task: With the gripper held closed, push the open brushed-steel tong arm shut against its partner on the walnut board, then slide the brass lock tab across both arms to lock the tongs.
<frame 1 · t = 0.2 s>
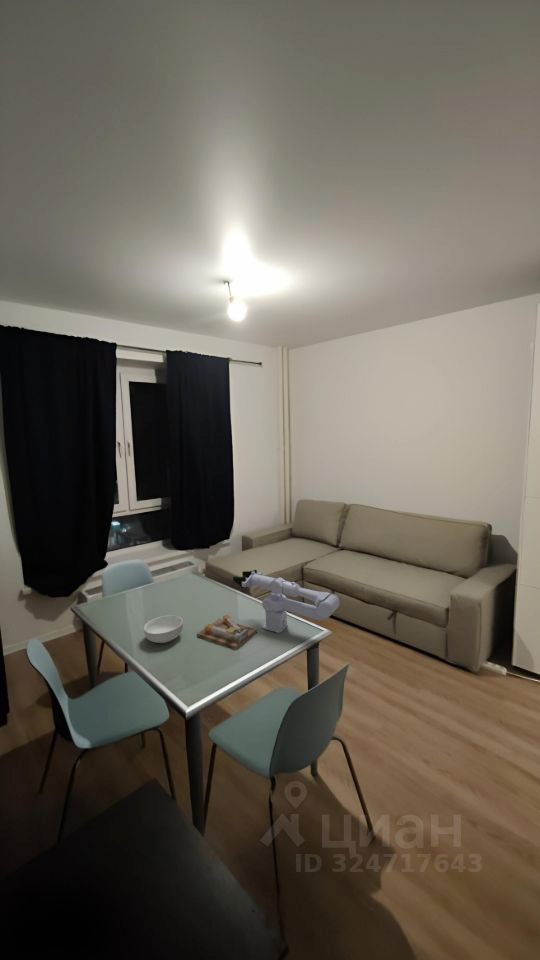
hand: (238, 576, 186), 21 cm above the table, tool horizontal, fingers open, 7 cm apart
cereal bowl: (164, 638, 172), on the table
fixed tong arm: (223, 639, 169), resting on board
lock tab: (231, 630, 166), point 5 cm above the table, slide at 0.0 cm
board: (227, 634, 173), on the table
tong arm: (232, 626, 175), point 3 cm above the table, hinge at 30.0°
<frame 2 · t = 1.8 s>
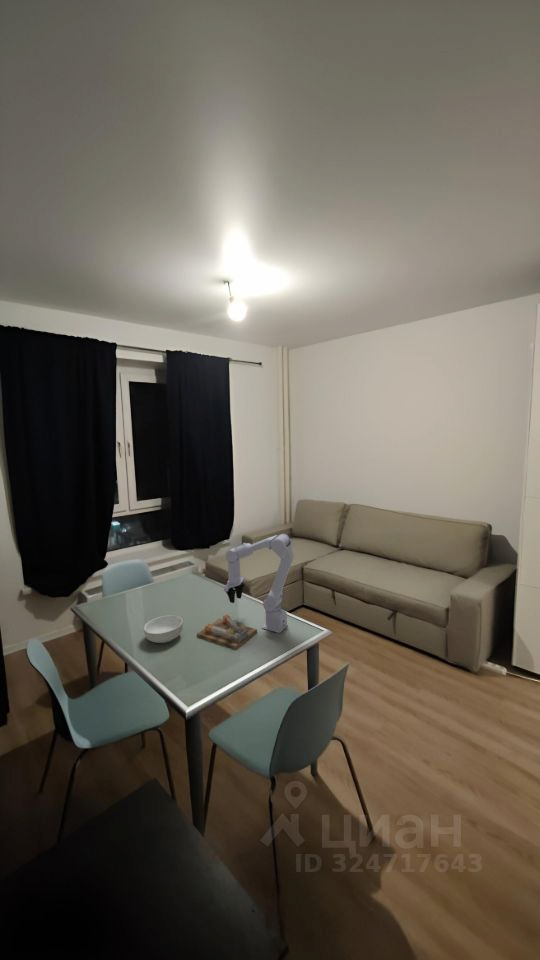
hand: (235, 600, 185), 10 cm above the table, tool pointing down, fingers open, 5 cm apart
nothing on the table moved.
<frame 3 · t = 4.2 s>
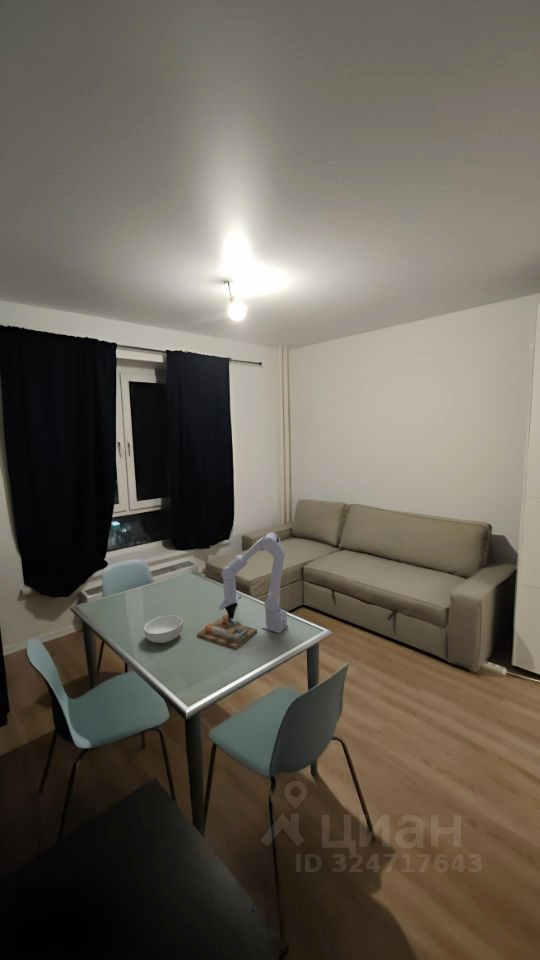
hand: (231, 618, 182), 3 cm above the table, tool pointing down, fingers closed
tong arm: (232, 626, 174), point 3 cm above the table, hinge at 28.4°, touching gripper
everything else where it was.
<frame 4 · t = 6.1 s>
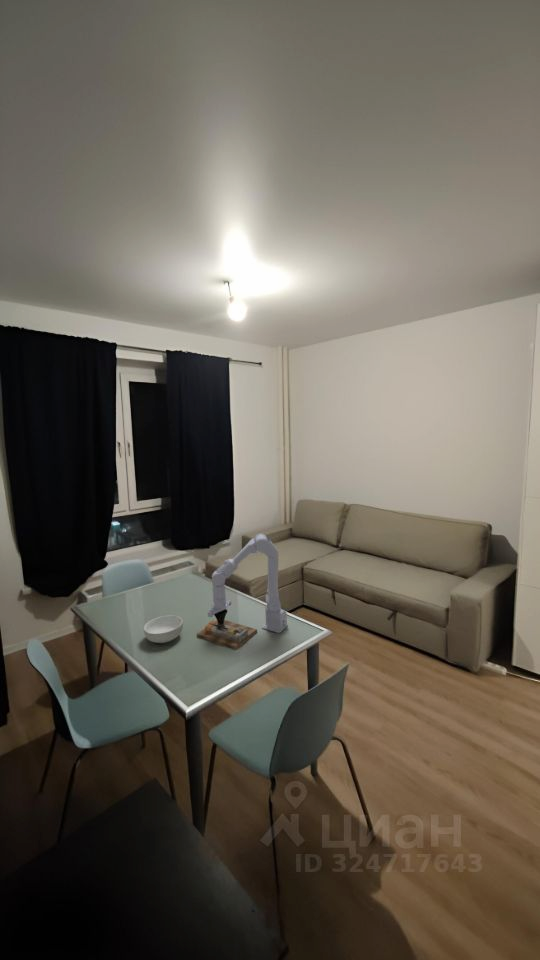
hand: (220, 625, 176), 3 cm above the table, tool pointing down, fingers closed
tong arm: (225, 629, 172), point 3 cm above the table, hinge at -0.2°, touching gripper
everything else where it was.
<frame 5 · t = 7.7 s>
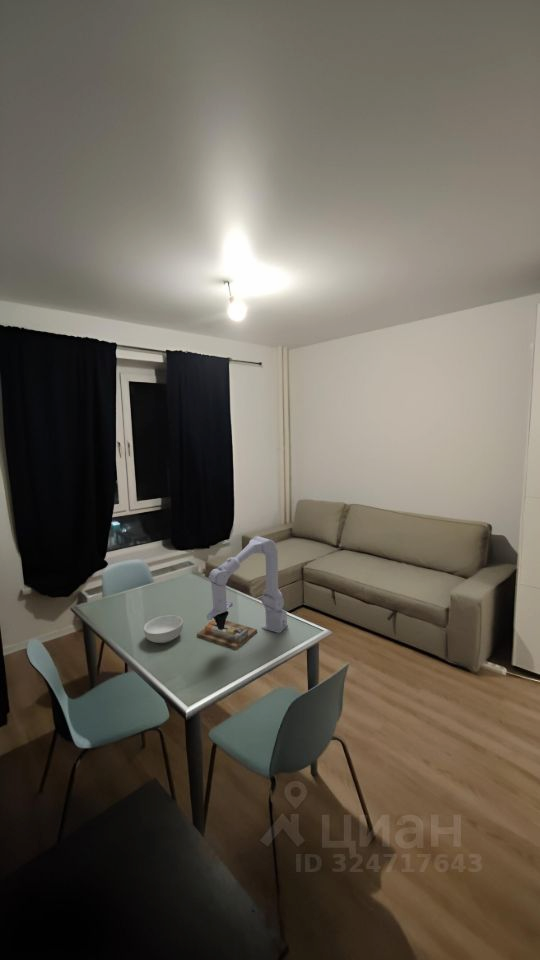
hand: (221, 629, 160), 9 cm above the table, tool pointing down, fingers closed
tong arm: (225, 629, 172), point 3 cm above the table, hinge at -0.2°
everything else where it was.
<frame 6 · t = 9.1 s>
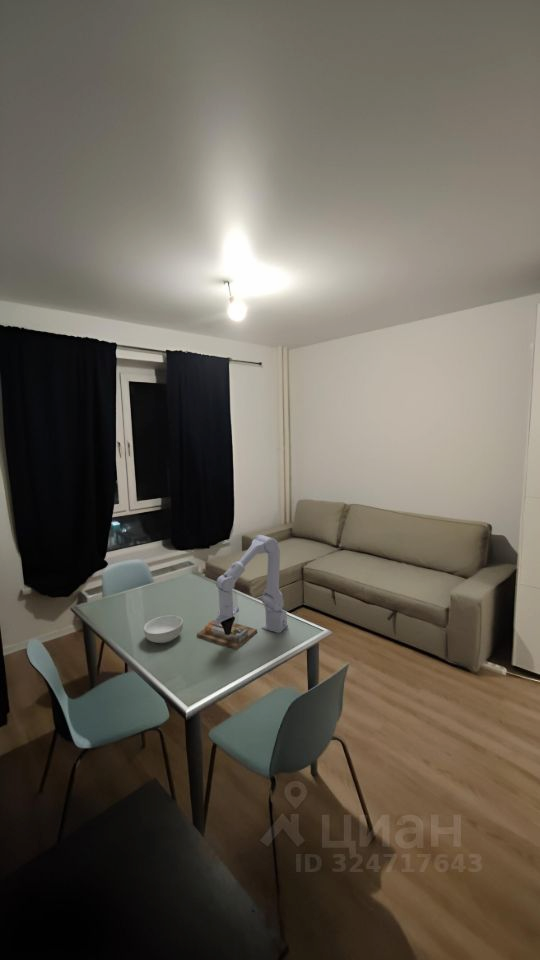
hand: (227, 634, 164), 5 cm above the table, tool pointing down, fingers closed
lock tab: (231, 630, 166), point 5 cm above the table, slide at 0.0 cm, touching gripper
everything else where it was.
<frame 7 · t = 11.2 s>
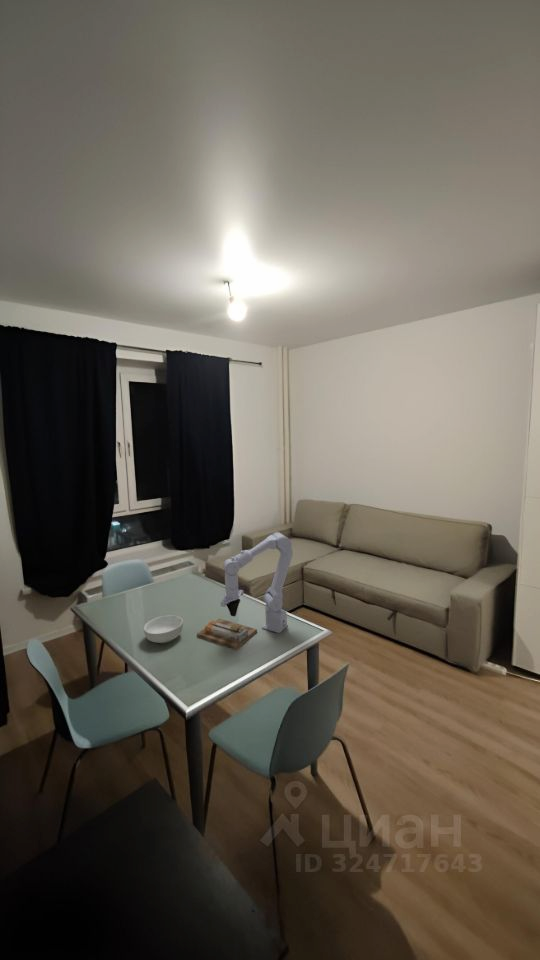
hand: (233, 615, 171), 9 cm above the table, tool pointing down, fingers closed
lock tab: (236, 627, 169), point 5 cm above the table, slide at 3.3 cm
everything else where it was.
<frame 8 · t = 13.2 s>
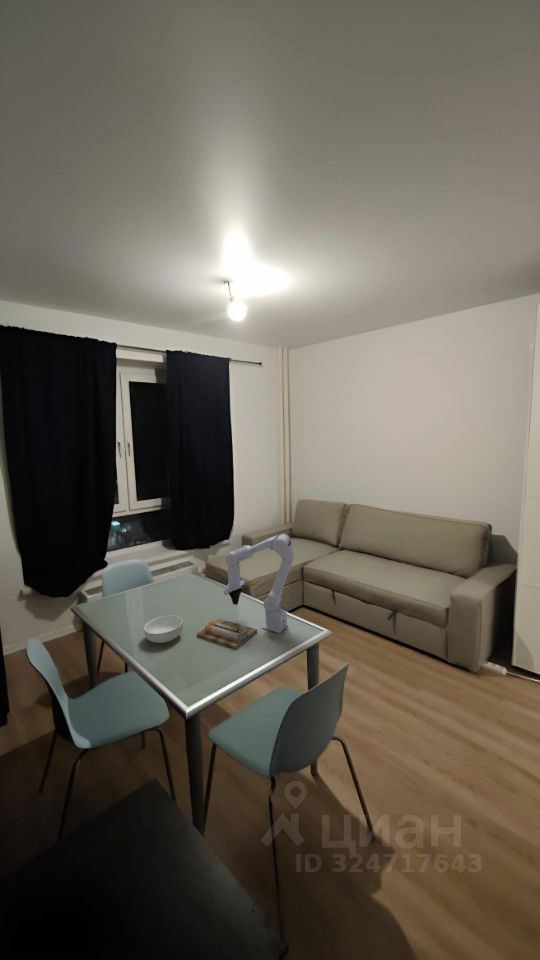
hand: (235, 603, 183), 9 cm above the table, tool pointing down, fingers closed
nothing on the table moved.
at the end: tong arm at +0° (first picture: +30°); lock tab slide at 3.3 cm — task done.
